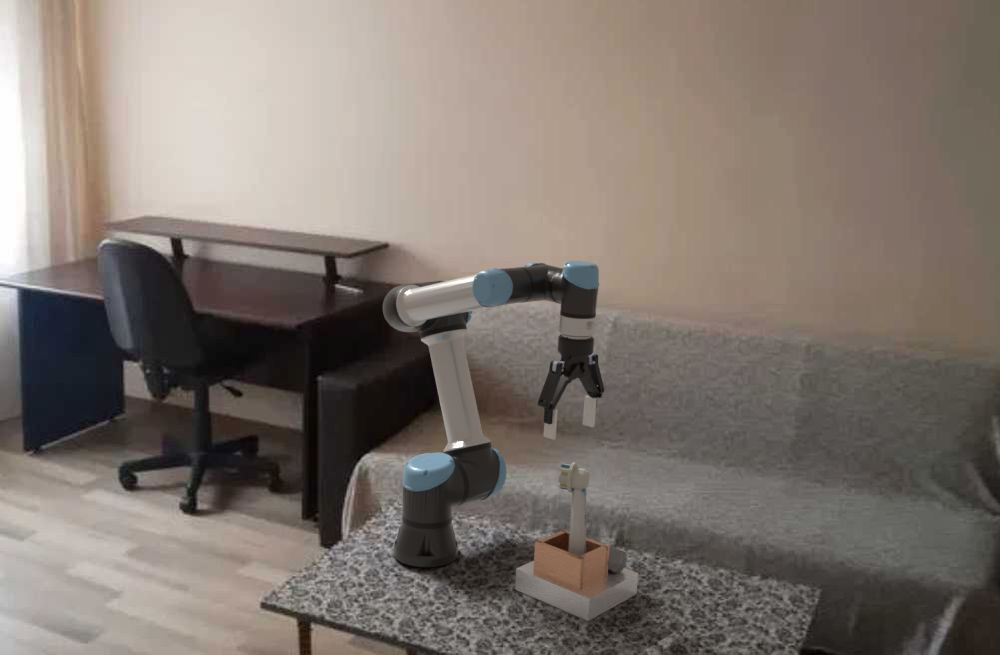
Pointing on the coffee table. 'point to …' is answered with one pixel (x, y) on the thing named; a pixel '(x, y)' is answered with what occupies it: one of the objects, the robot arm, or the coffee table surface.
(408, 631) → the coffee table surface
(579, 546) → the pale grey tall bar
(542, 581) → the open box on base
